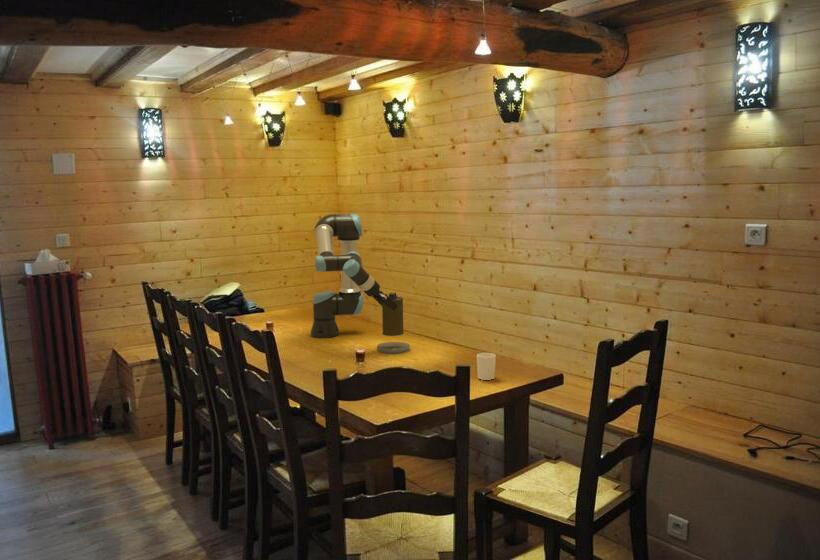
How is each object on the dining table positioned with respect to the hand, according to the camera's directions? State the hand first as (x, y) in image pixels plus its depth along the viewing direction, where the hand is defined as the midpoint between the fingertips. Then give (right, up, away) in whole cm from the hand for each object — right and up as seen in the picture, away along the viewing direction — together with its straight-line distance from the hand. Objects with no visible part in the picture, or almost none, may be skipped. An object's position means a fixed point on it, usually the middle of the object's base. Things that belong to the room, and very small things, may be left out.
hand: (399, 316), depth 329 cm
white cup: (+37, -23, -49) cm, 66 cm away
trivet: (-3, -16, +1) cm, 17 cm away
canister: (-3, -9, -1) cm, 9 cm away
